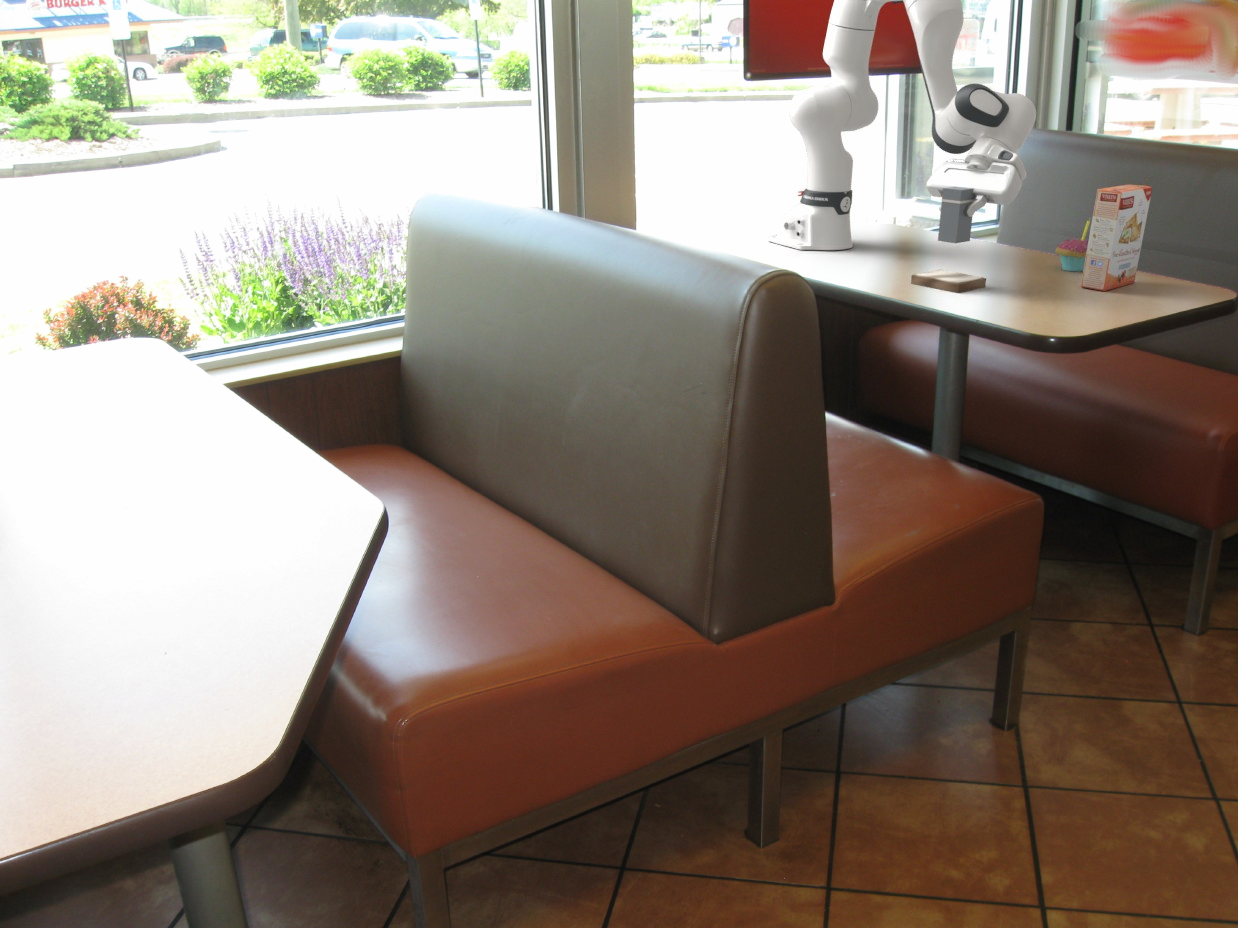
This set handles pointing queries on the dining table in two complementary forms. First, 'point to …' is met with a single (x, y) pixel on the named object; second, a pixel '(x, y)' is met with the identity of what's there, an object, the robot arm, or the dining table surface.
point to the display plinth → (948, 280)
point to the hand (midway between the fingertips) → (954, 213)
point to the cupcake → (1073, 252)
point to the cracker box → (1116, 236)
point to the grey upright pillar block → (955, 215)
